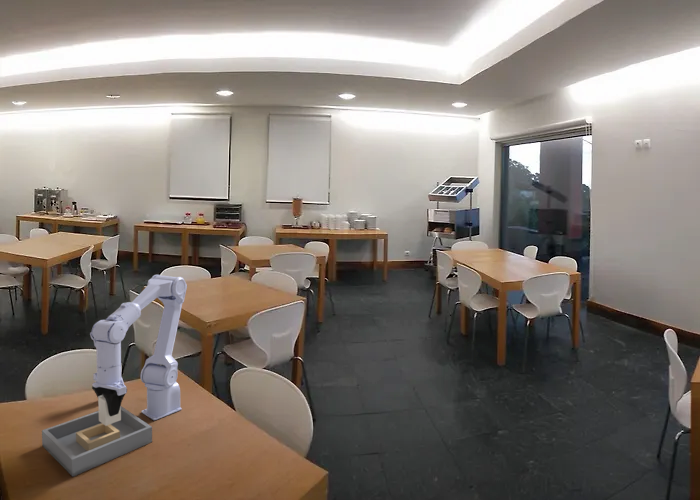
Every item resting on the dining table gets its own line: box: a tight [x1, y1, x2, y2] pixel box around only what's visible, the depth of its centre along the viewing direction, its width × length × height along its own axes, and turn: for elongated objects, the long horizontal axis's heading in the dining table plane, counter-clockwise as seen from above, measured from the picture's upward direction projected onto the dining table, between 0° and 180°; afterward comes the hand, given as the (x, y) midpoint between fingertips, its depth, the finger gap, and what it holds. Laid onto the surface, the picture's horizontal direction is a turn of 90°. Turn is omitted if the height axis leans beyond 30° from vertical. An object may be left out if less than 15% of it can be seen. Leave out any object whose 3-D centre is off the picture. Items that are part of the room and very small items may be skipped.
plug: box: [97, 395, 122, 426], centre depth 115 cm, size 4×4×8 cm
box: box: [41, 405, 153, 477], centre depth 117 cm, size 20×20×4 cm
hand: (109, 411), depth 115 cm, fingers closed on plug, 4 cm apart
